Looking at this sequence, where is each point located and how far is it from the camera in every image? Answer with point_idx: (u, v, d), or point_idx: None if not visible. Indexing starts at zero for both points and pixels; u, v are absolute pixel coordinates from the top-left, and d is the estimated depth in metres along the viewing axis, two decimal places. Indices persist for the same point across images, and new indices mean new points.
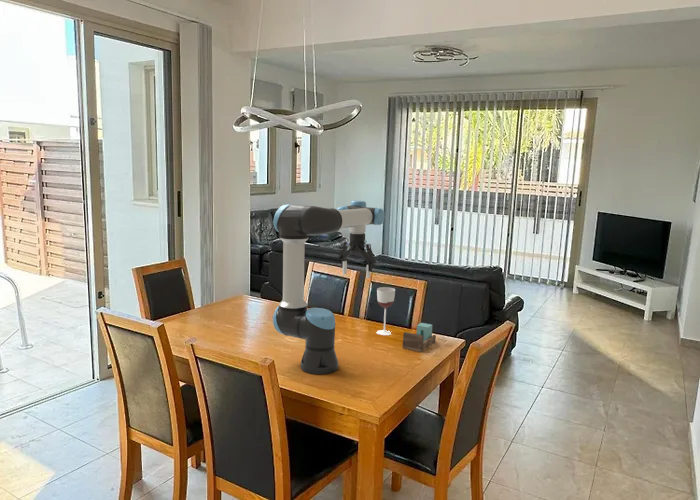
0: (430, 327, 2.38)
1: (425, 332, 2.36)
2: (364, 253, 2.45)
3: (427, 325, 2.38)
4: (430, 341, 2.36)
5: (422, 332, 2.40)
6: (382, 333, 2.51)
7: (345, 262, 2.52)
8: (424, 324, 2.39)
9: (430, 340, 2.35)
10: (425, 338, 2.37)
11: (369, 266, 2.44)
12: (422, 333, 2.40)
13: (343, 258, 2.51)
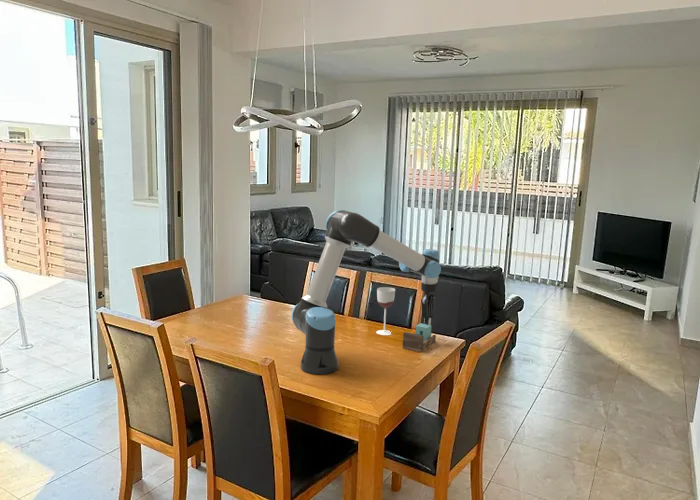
0: (429, 328, 2.37)
1: (424, 333, 2.35)
2: None
3: (427, 326, 2.37)
4: (430, 341, 2.36)
5: (421, 333, 2.39)
6: (382, 333, 2.51)
7: None
8: (424, 325, 2.38)
9: (430, 340, 2.35)
10: (424, 339, 2.36)
11: None
12: (421, 334, 2.39)
13: None
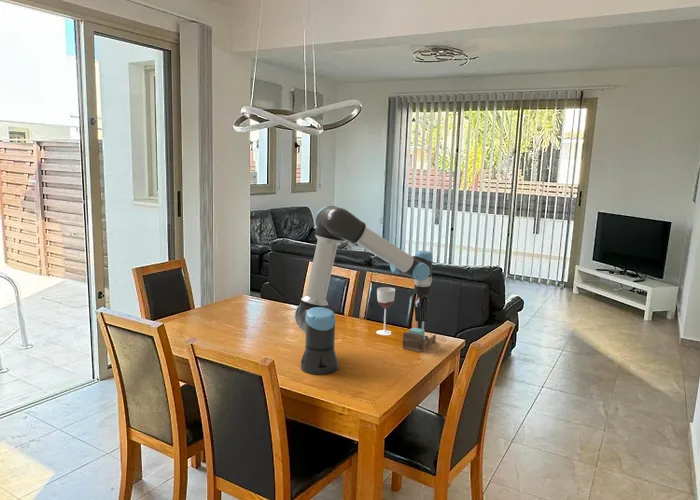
0: (422, 332, 2.30)
1: None
2: None
3: (420, 330, 2.30)
4: (430, 341, 2.36)
5: None
6: (382, 333, 2.51)
7: None
8: (417, 329, 2.32)
9: (430, 340, 2.35)
10: None
11: None
12: None
13: None
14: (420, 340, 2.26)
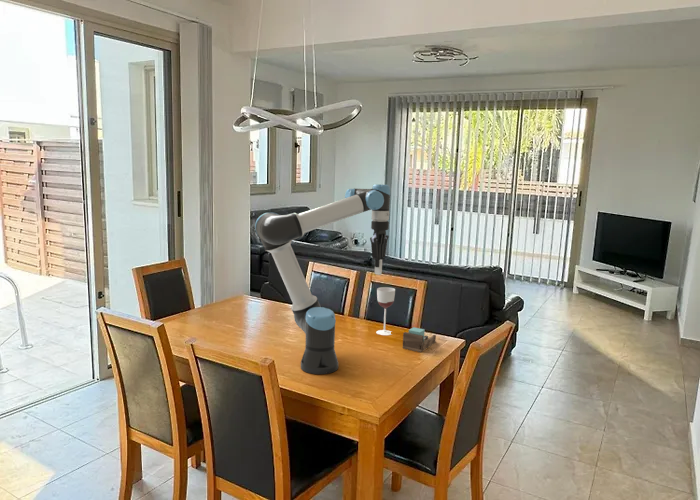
0: (422, 332, 2.30)
1: None
2: None
3: (420, 330, 2.30)
4: (430, 341, 2.36)
5: None
6: (382, 333, 2.51)
7: None
8: (417, 329, 2.32)
9: (430, 340, 2.35)
10: None
11: None
12: None
13: None
14: (420, 340, 2.26)
